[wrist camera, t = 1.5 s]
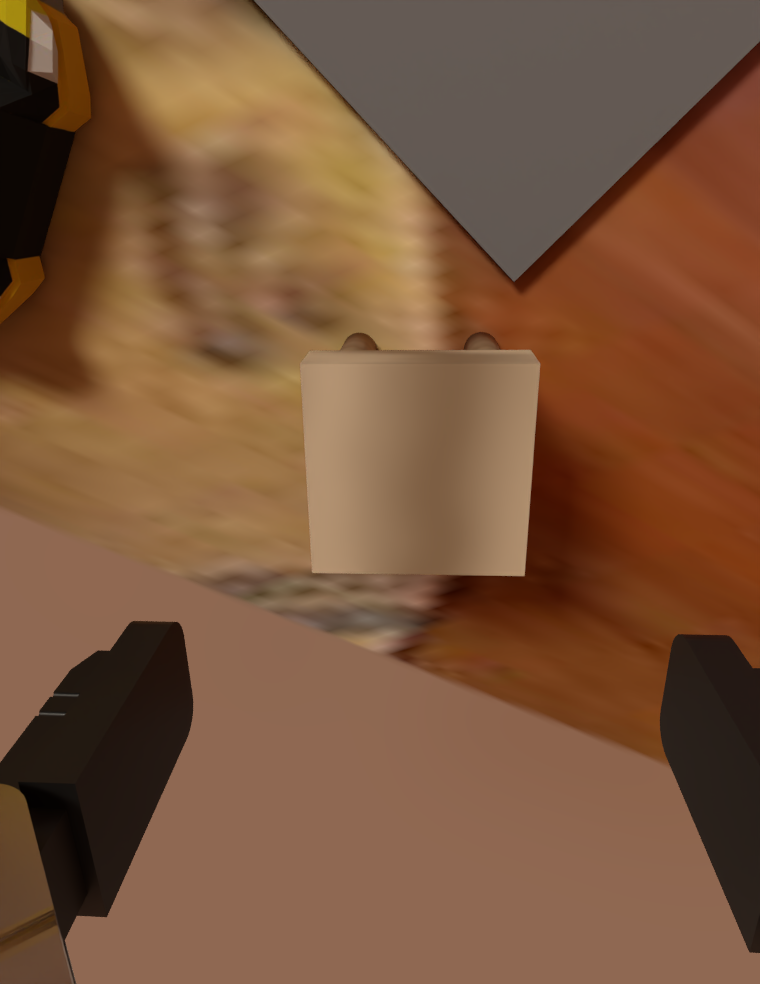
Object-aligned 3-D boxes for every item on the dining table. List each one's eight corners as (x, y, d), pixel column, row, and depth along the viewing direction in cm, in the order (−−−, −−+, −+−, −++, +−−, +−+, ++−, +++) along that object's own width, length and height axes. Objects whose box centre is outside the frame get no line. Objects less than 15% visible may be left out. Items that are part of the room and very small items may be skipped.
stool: (338, 486, 28) (311, 572, 22) (331, 321, 26) (300, 363, 19) (501, 487, 28) (524, 576, 21) (510, 320, 25) (540, 363, 19)
